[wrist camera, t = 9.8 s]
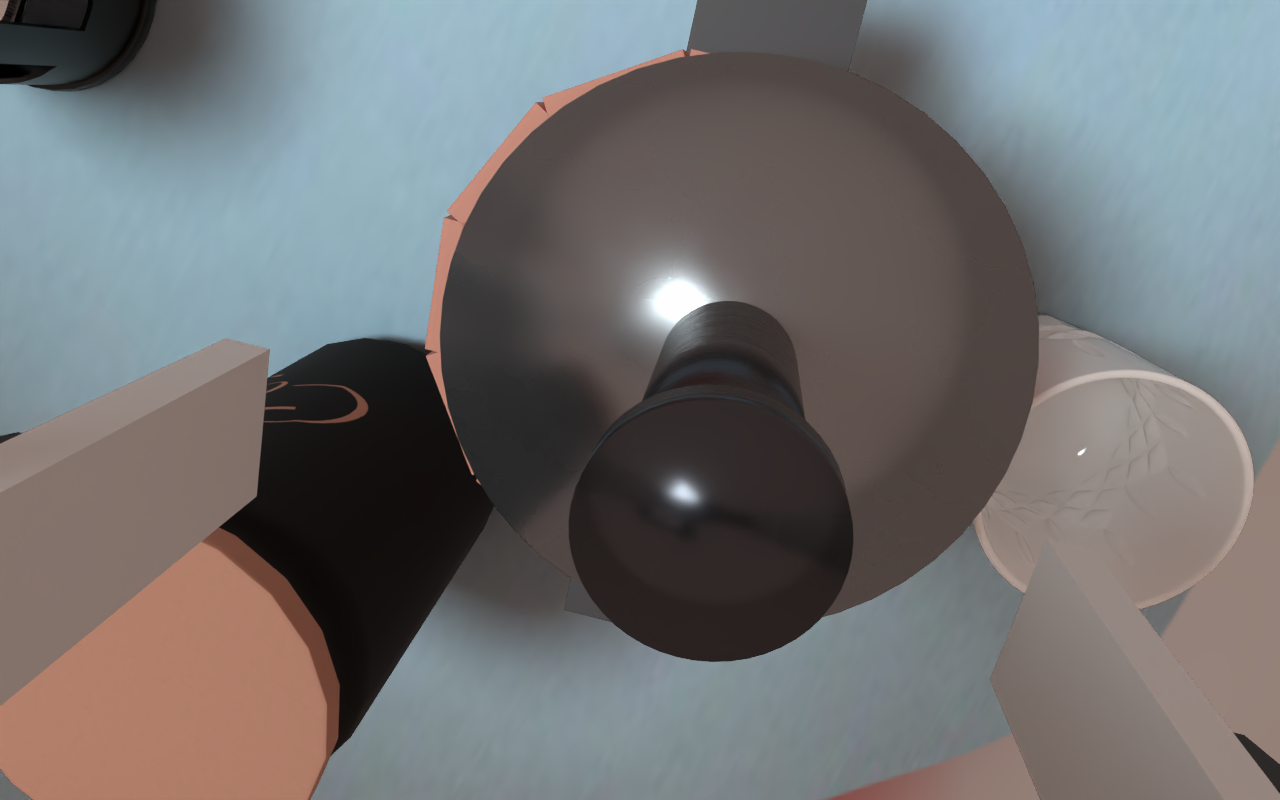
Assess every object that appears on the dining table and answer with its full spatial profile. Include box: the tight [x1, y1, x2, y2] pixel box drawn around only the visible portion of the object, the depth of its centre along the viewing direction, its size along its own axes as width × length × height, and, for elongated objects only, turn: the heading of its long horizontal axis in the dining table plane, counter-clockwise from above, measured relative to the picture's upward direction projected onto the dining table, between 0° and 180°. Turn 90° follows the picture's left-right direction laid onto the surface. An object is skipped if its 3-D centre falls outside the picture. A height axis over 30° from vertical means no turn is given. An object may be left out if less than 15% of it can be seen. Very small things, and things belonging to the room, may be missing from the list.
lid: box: [440, 52, 1039, 662], centre depth 21 cm, size 16×16×13 cm
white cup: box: [972, 315, 1254, 609], centre depth 32 cm, size 8×8×10 cm
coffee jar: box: [0, 338, 494, 800], centre depth 33 cm, size 11×11×18 cm
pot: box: [425, 0, 867, 622], centre depth 31 cm, size 21×15×12 cm
